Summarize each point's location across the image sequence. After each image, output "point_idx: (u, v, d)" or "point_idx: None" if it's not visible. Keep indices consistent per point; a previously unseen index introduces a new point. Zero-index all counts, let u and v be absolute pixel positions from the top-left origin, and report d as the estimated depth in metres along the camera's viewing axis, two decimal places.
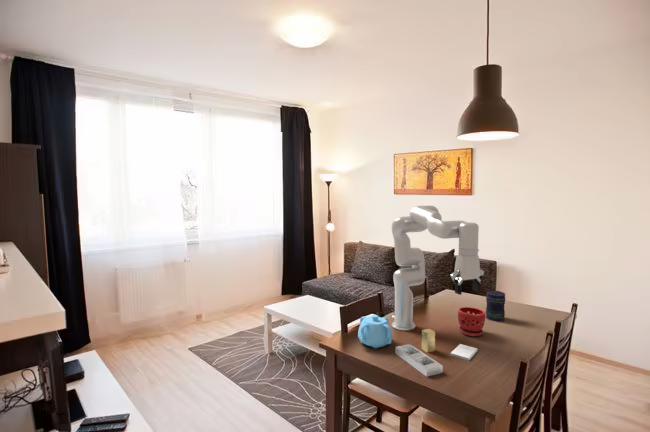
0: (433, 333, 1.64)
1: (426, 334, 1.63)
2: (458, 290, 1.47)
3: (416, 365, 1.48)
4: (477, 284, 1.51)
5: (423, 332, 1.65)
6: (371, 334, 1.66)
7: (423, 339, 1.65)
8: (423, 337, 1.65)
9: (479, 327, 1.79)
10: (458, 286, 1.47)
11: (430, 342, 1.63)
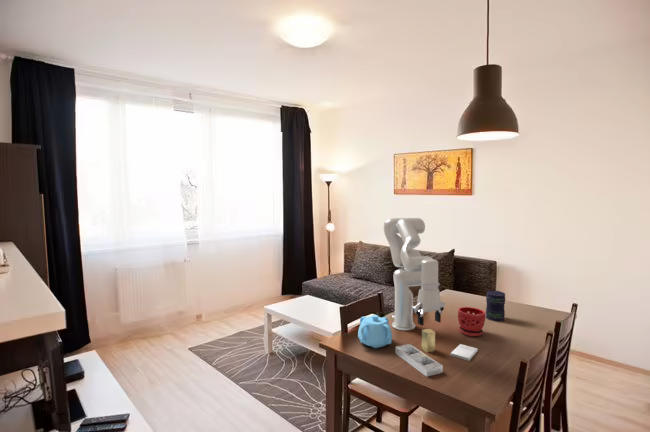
0: (433, 333, 1.64)
1: (426, 334, 1.63)
2: (420, 321, 1.61)
3: (416, 365, 1.48)
4: (438, 315, 1.65)
5: (423, 332, 1.65)
6: (371, 334, 1.66)
7: (423, 339, 1.65)
8: (423, 337, 1.65)
9: (479, 327, 1.79)
10: (420, 318, 1.61)
11: (430, 342, 1.63)
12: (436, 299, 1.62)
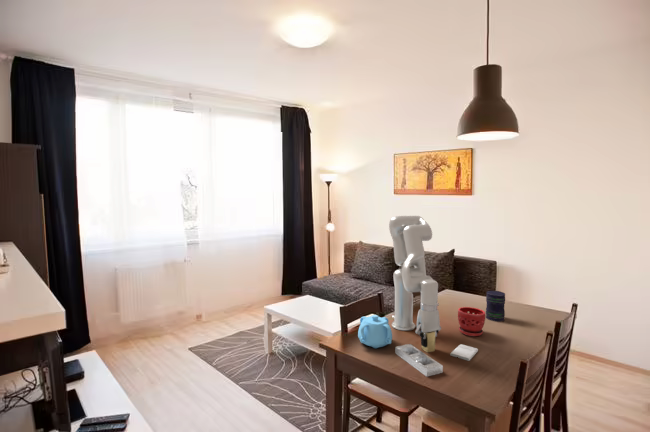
0: (433, 333, 1.64)
1: (426, 334, 1.63)
2: (423, 343, 1.64)
3: (416, 365, 1.48)
4: None
5: None
6: (371, 334, 1.66)
7: None
8: None
9: (479, 327, 1.79)
10: (423, 340, 1.63)
11: (430, 342, 1.63)
12: (435, 320, 1.63)
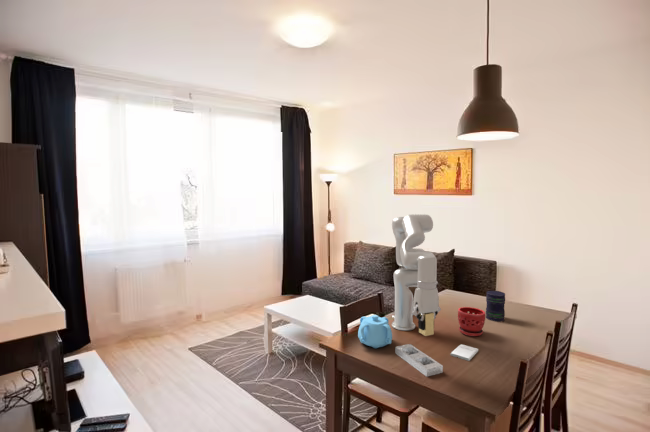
0: (432, 314, 1.47)
1: (424, 315, 1.46)
2: (421, 326, 1.47)
3: (416, 365, 1.48)
4: None
5: None
6: (371, 334, 1.66)
7: None
8: None
9: (479, 327, 1.79)
10: (421, 322, 1.46)
11: (429, 324, 1.46)
12: (434, 299, 1.46)
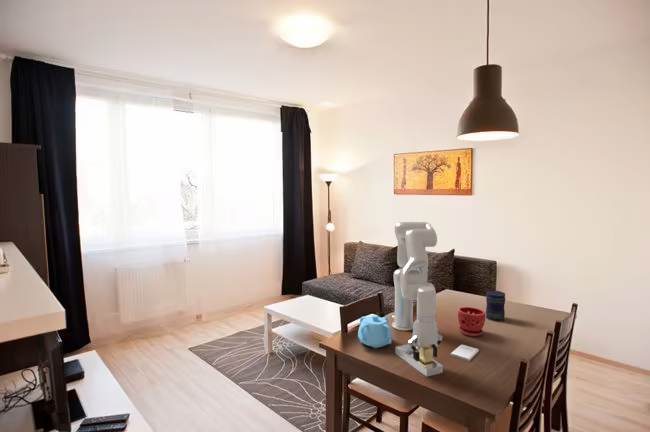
0: (431, 349, 1.47)
1: (423, 350, 1.47)
2: (416, 357, 1.46)
3: (416, 365, 1.48)
4: (435, 349, 1.49)
5: (420, 348, 1.49)
6: (371, 334, 1.66)
7: (420, 356, 1.49)
8: (420, 354, 1.49)
9: (479, 327, 1.79)
10: (416, 353, 1.46)
11: (428, 359, 1.47)
12: (433, 332, 1.47)
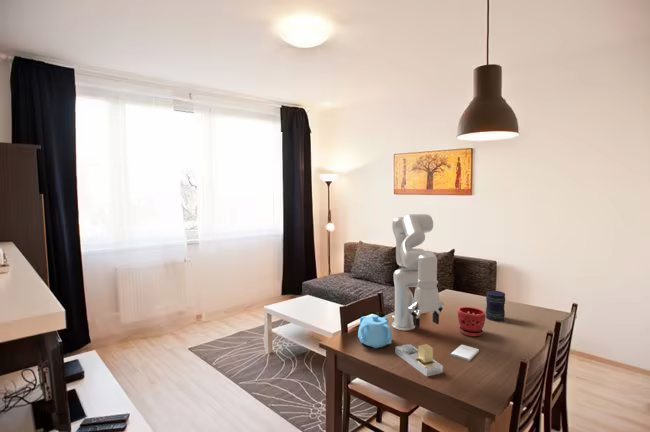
0: (431, 349, 1.47)
1: (423, 350, 1.47)
2: (416, 323, 1.45)
3: (416, 365, 1.48)
4: (436, 316, 1.49)
5: (420, 348, 1.49)
6: (371, 334, 1.66)
7: (420, 356, 1.49)
8: (420, 354, 1.49)
9: (479, 327, 1.79)
10: (416, 319, 1.45)
11: (428, 359, 1.47)
12: (434, 299, 1.46)
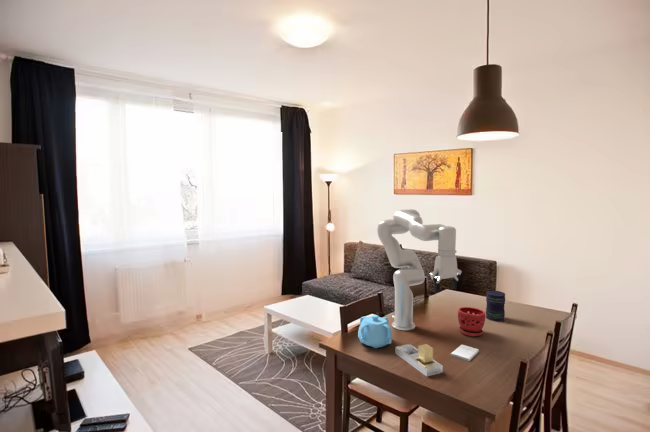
0: (431, 349, 1.47)
1: (423, 350, 1.47)
2: (437, 288, 1.62)
3: (416, 365, 1.48)
4: (455, 282, 1.65)
5: (420, 348, 1.49)
6: (371, 334, 1.66)
7: (420, 356, 1.49)
8: (420, 354, 1.49)
9: (479, 327, 1.79)
10: (437, 284, 1.62)
11: (428, 359, 1.47)
12: (453, 266, 1.62)
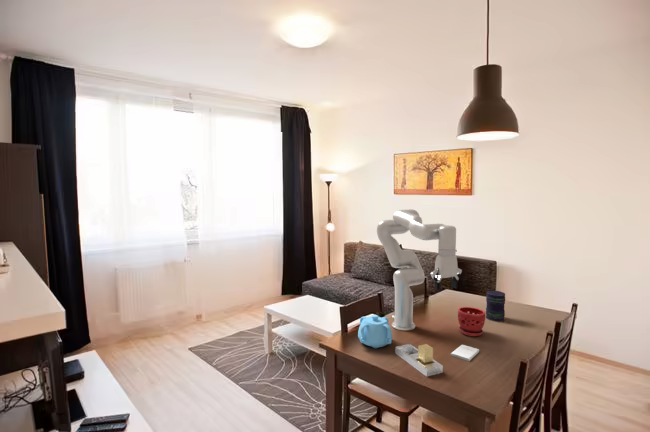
0: (431, 349, 1.47)
1: (423, 350, 1.47)
2: (437, 287, 1.62)
3: (416, 365, 1.48)
4: (455, 281, 1.65)
5: (420, 348, 1.49)
6: (371, 334, 1.66)
7: (420, 356, 1.49)
8: (420, 354, 1.49)
9: (479, 327, 1.79)
10: (437, 283, 1.62)
11: (428, 359, 1.47)
12: (453, 265, 1.62)
